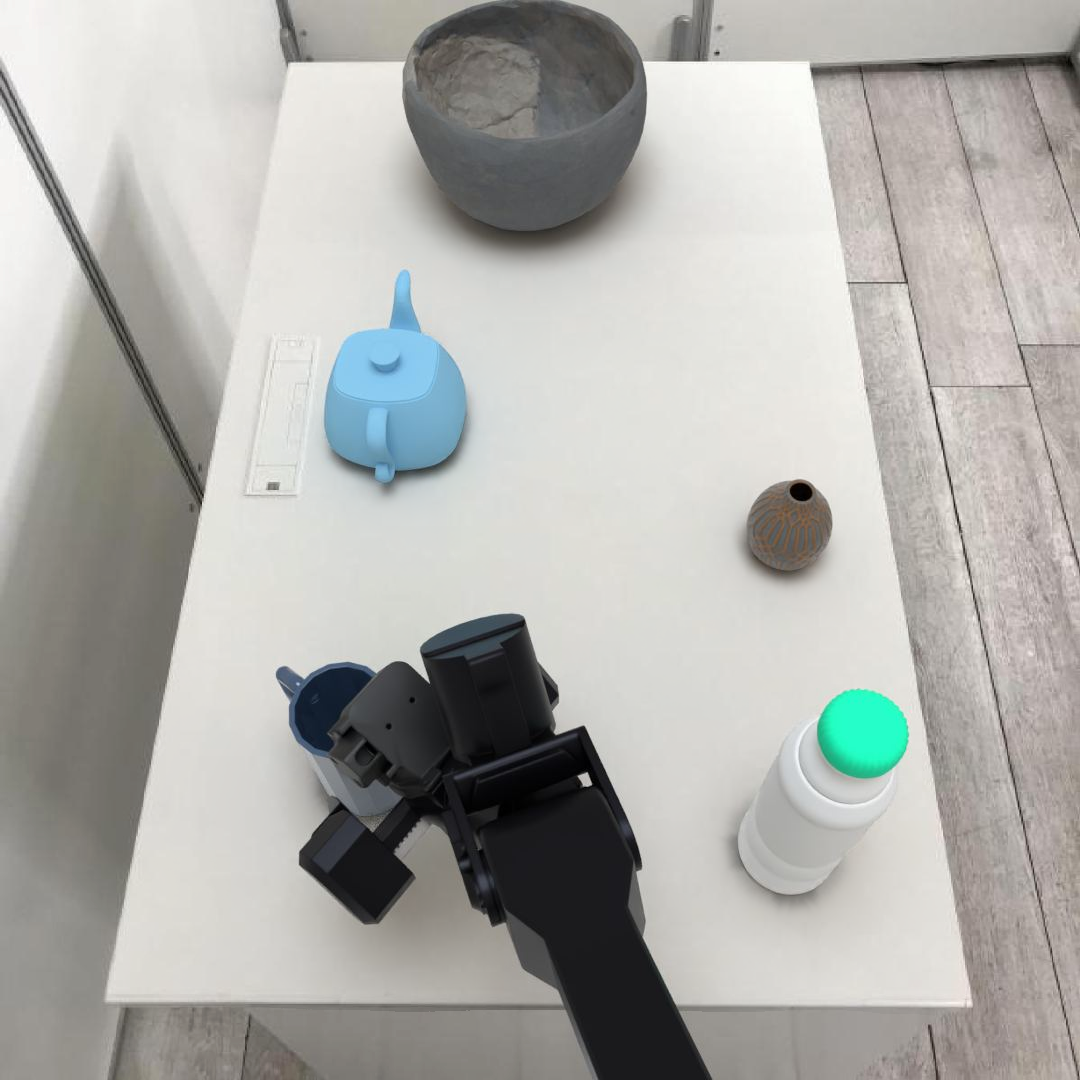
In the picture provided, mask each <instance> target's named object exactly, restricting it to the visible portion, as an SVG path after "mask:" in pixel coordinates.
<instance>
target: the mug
mask: <svg viewBox="0 0 1080 1080" xmlns="http://www.w3.org/2000/svg"><path fill="white" fill-rule="evenodd" d="M377 673H378V672H375V671H374V670H373V669H372V668H370V667H369V666H368V665H364V664H360V663H356V662H352V661H342V662H334V663H327V664H326V665H324V666H321V667H320V668H318V669H316V670H314V671H312V672H310V673H309V674H308V675H307V676H306V677H305V678H304V677H303V676H301V675H300V674H299V673H297V672H296V671H295V670H293V668H291V667H290V666H287V665H281V666H279V667H278V668H277V669H276V671H275V679H276V680H277V682H278V684H279V685H280V687H281V689H282V691H283V693H284V695H285V696H286V698H287V700H288V702H289V705H288V725H289V726H288V727H289V728H290V730H291V733H292V734H293V737H294V739H295V741H296V742H297V744H298V746H299V748H300V749H301V751H302V753H303V755H304V756H305V758H306V760H307V762H308V763H309V764H310V766H311V769H312V770H313V771H314V773H315V774H316V777H317V778H318V779H319V781H320V783H321V785H322V786H323V788H324V790H325V791H326V794H327V795H328V796H329V797H330V796H335V797H337V798H338V799H339V800H340V801H341V802H342V803H343V804H344V805H345V806H346V807H347V808H348V809H349V810H350V811H351V812H352V813H353V814H354V815H355V816H359V817H372V816H376V815H377V816H378V815H380V814H383V813H385V812H387V811H390V810H392V809H393V808H394V807H395V806H396V804H397V803H398V802H399V801H400V800H401V799H402V796H399V795H397V794H396V793H395V792H394V791H393V790H392V789H391V788H390V787H389V786H387V787H385V786H383V785H382V784H381V783H380V782H379V781H377V780H374V781H373V782H372V783H371V785H370V786H369V787H368V788H361V787H359V786H358V785H357V784H355V783H354V782H353V781H352V780H351V779H350V778H349V777H348V776H347V775H346V774H344V773H343V772H342V771H341V770H340V769H339V768H338V767H337V766H336V765H335V764H334V763H332V762H331V760H330V759H329V758H328V757H327V753H328V752H329V751H330V750H331V749H332V748H333V747H334V745H335V743H334V740H333V739H332V738H331V737H330V736H329V735H328V734H327V732H328V731H329V730H330V729H331V728H332V727H333V726H334V725H335V724H336V722H337V721H338V720H339V719H340V715H341V713H342V711H343V710H344V708H345V707H346V706H347V705H348V704H349V703H350V702H351V701H352V700H353V699H354V698H355V697H356V695H357V694H358V693H359V692H360V691H361V690H362V689H363V688H364V687H365V686H366V685H367V683H368V682H369V681H370V680H371V679H372V678H373V677H374V676H375V675H376V674H377Z"/></svg>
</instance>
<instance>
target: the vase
mask: <svg viewBox="0 0 1080 1080" xmlns="http://www.w3.org/2000/svg"><path fill="white" fill-rule="evenodd" d="M833 523H834V521H833V513H832V510H831V506H830V504H829V502H828V500H827V498H826V497H825V496H824V494H823V493H822V492H821V491H819V489H817V488H816V487H815V486H814V484H813V483H811V482H810V481H809V480H806V479H802V478H797V479H794V480H793V479H792V480H783V481H779V482H776V483H774V484H772V485H769V487H767V488H766V489H764V490H763V491H762V492H761V493H760V494H759V495H758V496H757V497H756V499H755V500H754V502H753V503H752V505H751V508H750V509H749V512H748V515H747V519H746V537H747V541H748V544H749V547H750V548H751V550H752V553H754V556H756V557H757V558H758V560H759V561H761V562H762V564H765V565H767V566H768V567H771V568H773V569H776V570H781V571H796V570H800V569H802V568H806V567H807V566H809V565H810V564H812V563H813V562H815V561H816V560H817V559H818V558H819V557H820V556H821V555H822V554H823V552H825V550H826V548H827V546H828V544H829V542H830V540H831V536H832V533H833V527H834V526H833Z"/></svg>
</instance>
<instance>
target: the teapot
mask: <svg viewBox="0 0 1080 1080" xmlns="http://www.w3.org/2000/svg"><path fill="white" fill-rule="evenodd" d="M411 278H412V277H411V274H410V271H409V270H408V269H402V270H401V271H400V272H399V273H398V274H397V276H396V280H395V284H394V294H393V303H392V310H391V316H390V321H389V326H388V328H374V329H373V328H372V329H366V330H361V331H357V332H354V333H352V334H350V335H349V336H347V337H346V338H345V340H343V342H342V344H341V345H340V348H339V351H338V353H337V356H336V358H335V360H334V363H333V366H332V369H331V372H330V375H329V378H328V382H327V386H326V390H325V391H326V392H325V399H324V410H323V411H324V412H323V425H324V432H325V437H326V440H327V443H328V445H329V447H330V448H331V449H332V450H333V451H334V452H335V454H337V455H338V456H340V457H342V458H343V459H345V460H348V461H350V462H352V463H354V464H357V465H359V466H360V465H361V466H364V467H368V468H372V469H375V473H374V479H375V480H376V481H377V482H378V483H382V484H387V483H390V482H392V480H393V479H394V477H395V473H396V471H412V470H419V469H425V468H428V467H429V468H430V467H433V466H435V465H437V464H440V463H442V462H443V461H445V460H446V459H447V458H448V457H450V455H451V454H452V453H453V452H454V450H455V449H456V447H457V445H458V443H459V440H460V437H461V435H462V431H463V427H464V424H465V419H466V413H467V395H466V394H467V392H466V384H465V381H464V378H463V375H462V373H461V370H460V367H459V366H458V364H457V362H456V361H455V359H454V358H453V357H452V355H451V354H450V353H449V352H448V351H447V350H446V349H445V347H444V346H443V345H442V344H440V343H439V342H438V341H437V340H436V339H435V338H433V337H432V336H430V335H428V334H425V333H422V329H421V325H420V323H419V320H418V317H417V315H416V312H415V309H414V306H413V302H412V296H411V294H412V293H411V287H412V286H411V285H412V282H411V281H412V279H411Z"/></svg>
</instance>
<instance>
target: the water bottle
mask: <svg viewBox="0 0 1080 1080" xmlns="http://www.w3.org/2000/svg"><path fill="white" fill-rule="evenodd" d="M907 722H908V721H907V718H906V717H905V716H904V712H903V711H902V710H901V709H900V706H898V705H896V704H895V702H894V701H893V700H890V699H889V697H888V696H885V695H883V694H882V693H881V692H878V693H877V691H875V690H869V689H868V688H865V689H862V688H857V689H854V688H851V689H849V690H844V691H842V692H841V693H839V694H837V695H835V697H834V698H832V699H830V701H829V703H827V705H826V706H825V707H824V709H823V710H822V712H821V713H818V714H814V715H811V716H809V717H807V718H805V719H803V720H802V721H800V722H798V723H797V724H796V725H795V726H794V727H793V728H792V729H790V730H789V732H788V734H787V735H786V736H785V737H784V739H783V741H782V743H781V745H780V748H779V750H778V754H777V755H776V757H775V758H774V760H773V762H772V763H771V765H770V767H769V768H768V770H767V773H766V775H765V777H764V779H763V781H762V784H761V786H760V788H759V790H758V792H757V793H756V794H755V796H754V798H753V800H752V802H751V804H750V807H749V809H748V810H747V812H746V813H745V814H744V817H743V819H742V820H741V823H740V826H739V829H738V833H737V848H738V853H739V857H740V860H741V862H742V865H743V866H744V868H745V870H746V871H747V873H748V874H749V875H750V876H751V877H752V879H754V880H755V881H756V882H757V883H758V884H759V885H760V886H762V887H764V888H766V889H767V890H770V891H771V892H774V893H777V894H780V895H781V894H782V895H792V896H793V895H802V894H805V893H809V892H811V891H812V890H814V889H816V888H817V887H819V886H820V885H821V884H822V883H823V882H825V881H826V879H827V878H828V877H829V876H830V875H831V873H832V871H833V870H834V869H835V868H836V867H837V866H838V865H839V864H840V863H841V862H842V861H843V860H844V858H845V856H846V854H847V853H849V852H850V851H851V850H852V849H853V848H854V847H855V846H856V845H857V844H858V843H859V842H860V840H861V839H863V837H864V836H865V835H866V834H867V832H868V831H869V830H870V829H871V827H872V826H873V825H874V823H875V822H876V821H877V820H879V819H880V818H881V817H882V816H883V815H884V814H885V813H886V812H887V811H888V809H889V808H890V806H891V805H892V803H893V802H894V799H895V796H896V794H897V792H898V791H897V790H898V786H899V768H898V764H899V762H900V761H901V760H902V759H903V757H904V755H905V754H906V752H907V749H908V744H909V738H910V732H909V725H908V724H907Z"/></svg>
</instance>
